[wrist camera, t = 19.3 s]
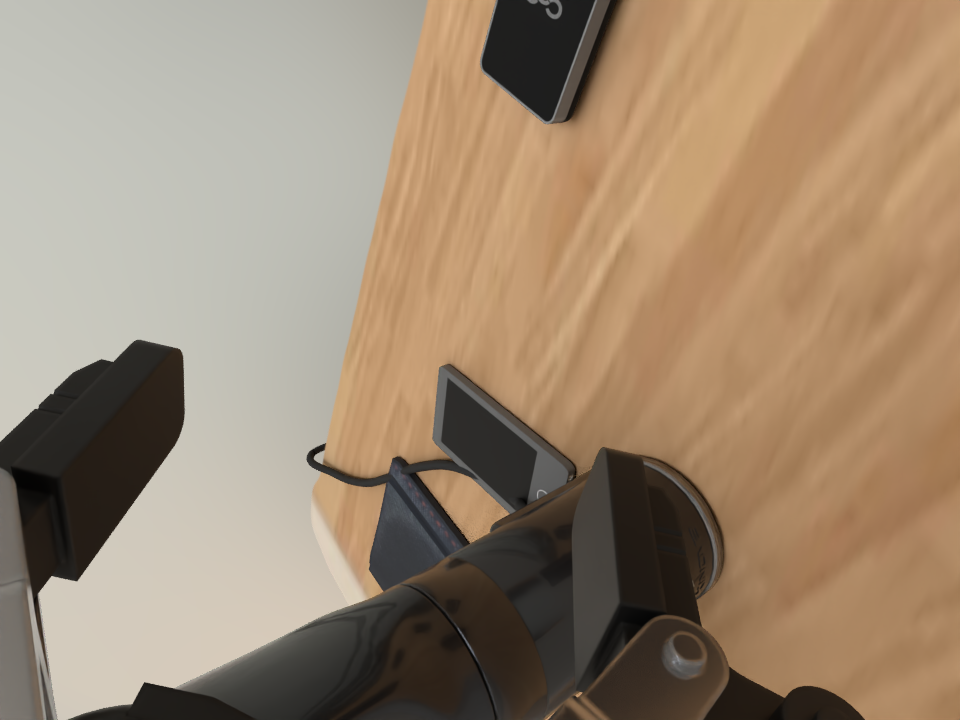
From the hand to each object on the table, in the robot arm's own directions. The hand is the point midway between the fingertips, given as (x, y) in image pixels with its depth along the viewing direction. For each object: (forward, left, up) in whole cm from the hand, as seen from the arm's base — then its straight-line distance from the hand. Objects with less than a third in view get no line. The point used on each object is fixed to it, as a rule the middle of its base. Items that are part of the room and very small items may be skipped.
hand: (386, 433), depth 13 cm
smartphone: (-30, -16, -25) cm, 43 cm away
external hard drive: (-17, +13, -25) cm, 33 cm away
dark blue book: (-46, -32, -25) cm, 62 cm away
